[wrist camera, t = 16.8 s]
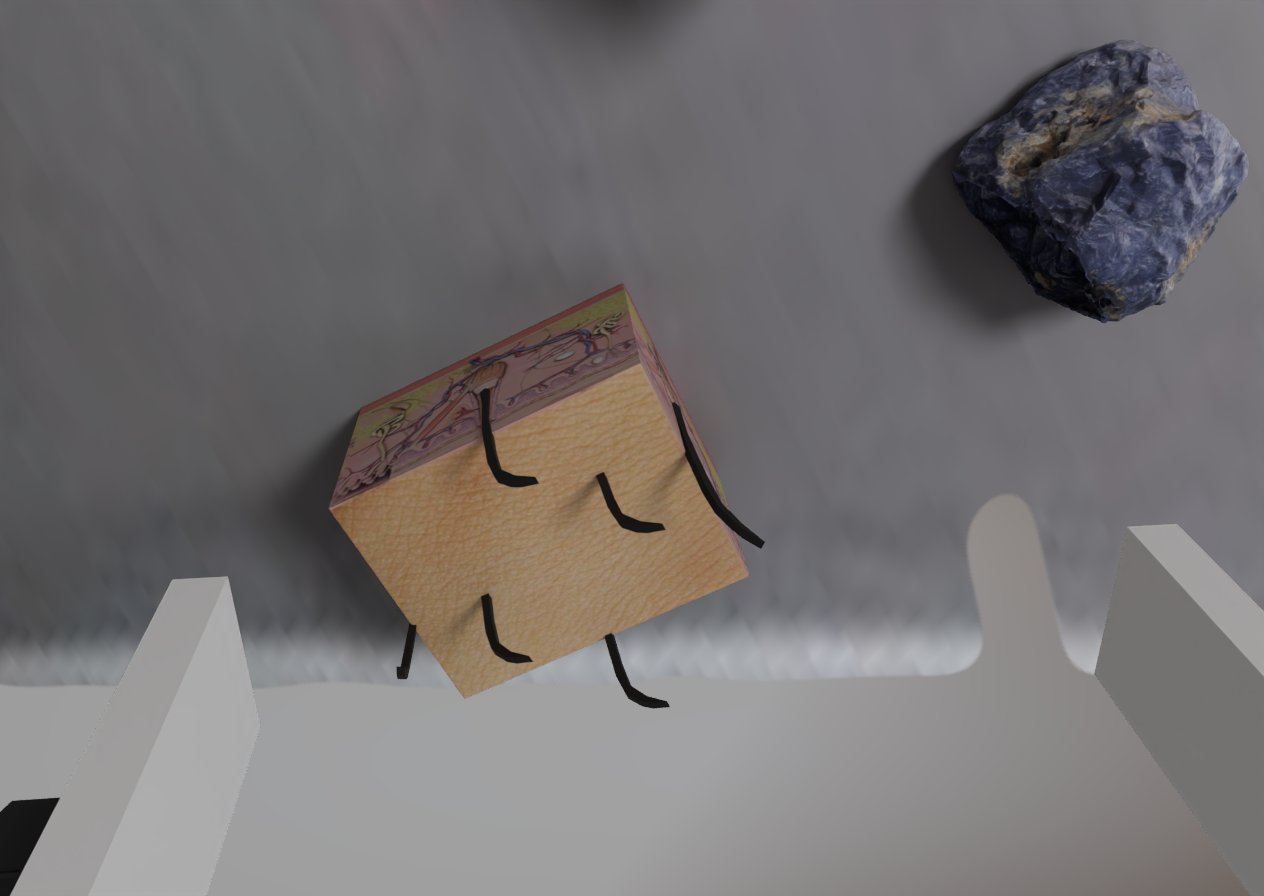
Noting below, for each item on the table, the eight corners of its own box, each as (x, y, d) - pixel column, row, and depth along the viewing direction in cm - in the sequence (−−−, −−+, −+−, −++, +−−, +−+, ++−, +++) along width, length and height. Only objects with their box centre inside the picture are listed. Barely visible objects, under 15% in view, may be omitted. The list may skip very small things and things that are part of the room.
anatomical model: (468, 584, 57) (448, 799, 44) (351, 409, 52) (289, 591, 39) (748, 459, 55) (816, 645, 42) (653, 264, 50) (697, 405, 37)
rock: (903, 203, 47) (1116, 214, 39) (1027, 20, 49) (1255, -7, 40) (1012, 353, 53) (1216, 390, 45) (1119, 186, 55) (1334, 192, 47)
